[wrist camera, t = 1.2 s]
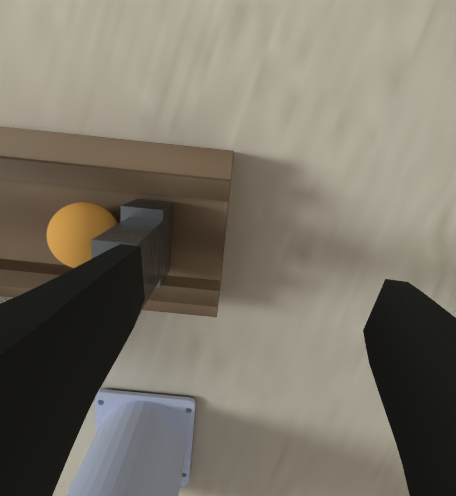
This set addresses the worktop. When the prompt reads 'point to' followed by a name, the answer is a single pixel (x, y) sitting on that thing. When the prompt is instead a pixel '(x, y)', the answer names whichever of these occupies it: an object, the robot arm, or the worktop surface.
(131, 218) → the gray l-shaped bracket
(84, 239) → the ball
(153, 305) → the brown wooden moulding block
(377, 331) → the robot arm
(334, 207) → the worktop surface
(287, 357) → the worktop surface
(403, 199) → the worktop surface
